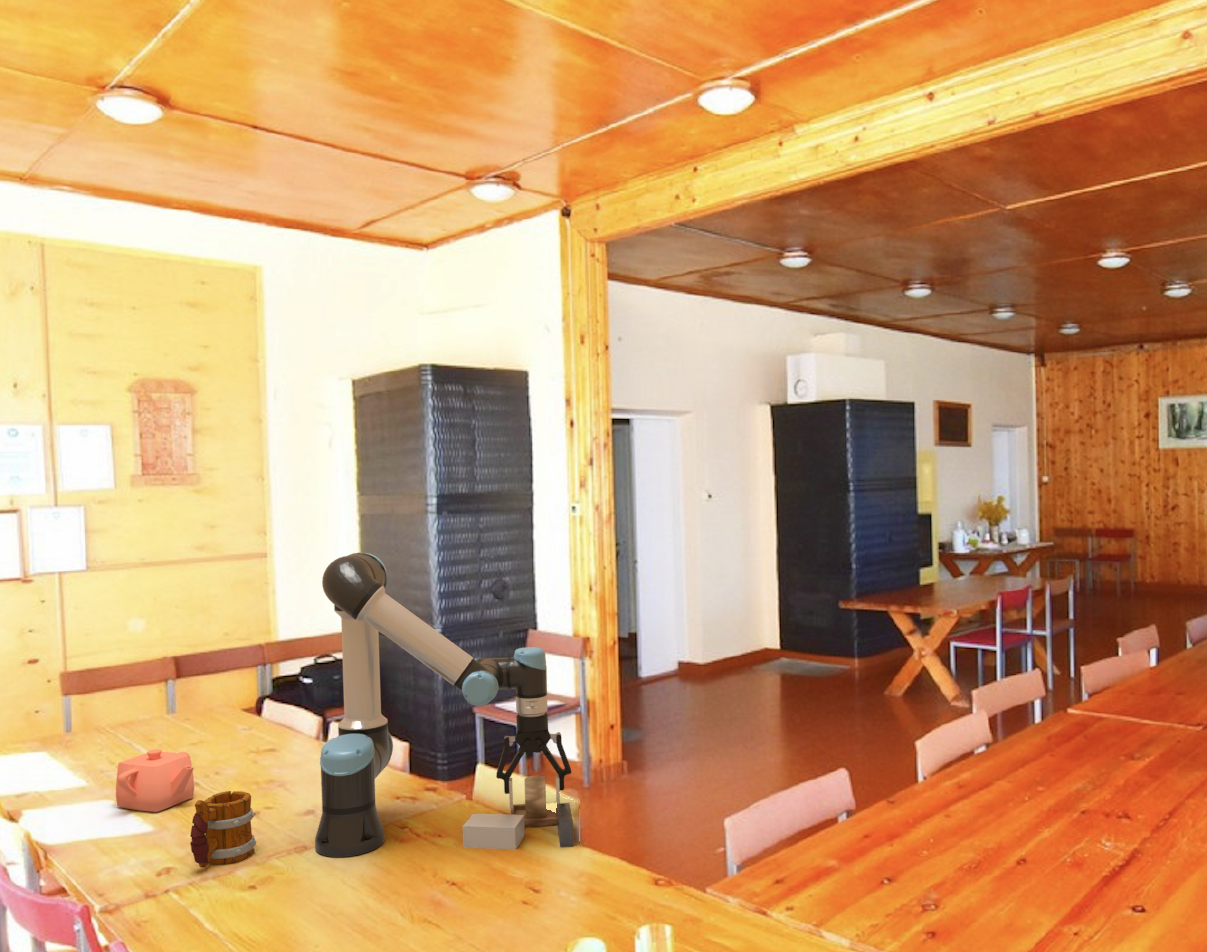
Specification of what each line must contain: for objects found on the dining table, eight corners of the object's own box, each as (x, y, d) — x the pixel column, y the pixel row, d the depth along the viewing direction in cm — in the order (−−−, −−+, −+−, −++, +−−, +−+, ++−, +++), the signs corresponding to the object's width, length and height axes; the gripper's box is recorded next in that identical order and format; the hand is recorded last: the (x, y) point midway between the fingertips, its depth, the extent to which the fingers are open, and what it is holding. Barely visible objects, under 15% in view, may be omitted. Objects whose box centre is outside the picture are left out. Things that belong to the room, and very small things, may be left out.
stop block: (560, 847, 207) (559, 822, 207) (557, 827, 219) (556, 803, 219) (573, 846, 207) (572, 821, 207) (570, 826, 219) (569, 802, 219)
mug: (266, 848, 211) (264, 781, 212) (214, 878, 196) (212, 806, 196) (227, 843, 215) (225, 778, 215) (173, 872, 199) (171, 802, 200)
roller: (525, 820, 222) (524, 782, 222) (525, 813, 227) (524, 776, 227) (546, 819, 223) (545, 781, 223) (546, 812, 228) (545, 775, 228)
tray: (510, 828, 219) (510, 821, 219) (511, 811, 230) (510, 804, 230) (560, 825, 220) (560, 818, 220) (558, 808, 231) (558, 801, 231)
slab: (463, 848, 208) (462, 826, 208) (474, 835, 216) (473, 813, 216) (515, 850, 206) (514, 827, 206) (524, 836, 214) (524, 815, 214)
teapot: (98, 815, 237) (96, 760, 237) (168, 787, 258) (166, 737, 258) (156, 823, 230) (155, 766, 230) (224, 794, 250) (222, 742, 250)
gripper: (483, 719, 220) (486, 813, 220) (581, 714, 223) (583, 807, 222) (484, 711, 228) (487, 803, 228) (578, 706, 230) (581, 797, 230)
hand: (534, 805), depth 225 cm, fingers open, 10 cm apart
